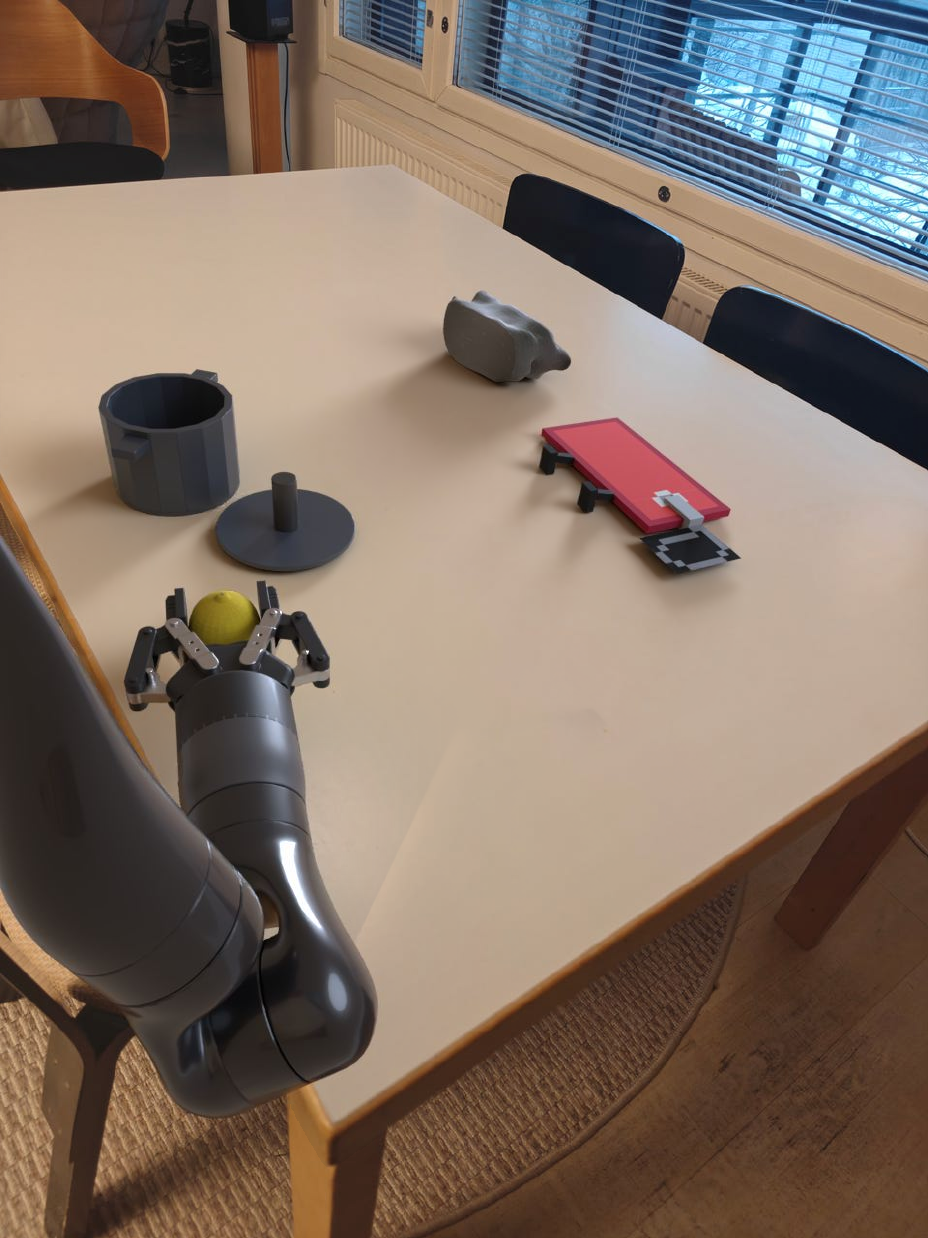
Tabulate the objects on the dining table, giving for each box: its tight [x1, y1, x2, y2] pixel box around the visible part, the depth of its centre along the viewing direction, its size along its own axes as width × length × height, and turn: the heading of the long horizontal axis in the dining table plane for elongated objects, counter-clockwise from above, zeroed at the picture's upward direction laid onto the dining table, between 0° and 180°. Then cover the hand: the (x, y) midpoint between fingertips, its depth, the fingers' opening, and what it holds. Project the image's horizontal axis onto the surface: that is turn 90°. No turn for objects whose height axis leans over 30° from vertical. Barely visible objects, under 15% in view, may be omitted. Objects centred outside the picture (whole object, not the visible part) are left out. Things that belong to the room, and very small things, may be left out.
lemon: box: [188, 589, 261, 645], centre depth 65 cm, size 6×6×8 cm
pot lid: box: [215, 471, 356, 572], centre depth 84 cm, size 14×14×7 cm
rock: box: [442, 290, 572, 383], centre depth 119 cm, size 18×11×8 cm, turn 40°
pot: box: [97, 368, 241, 517], centre depth 89 cm, size 13×18×10 cm
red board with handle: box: [538, 417, 742, 575], centre depth 97 cm, size 30×3×15 cm
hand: (221, 593), depth 66 cm, fingers closed on lemon, 5 cm apart
